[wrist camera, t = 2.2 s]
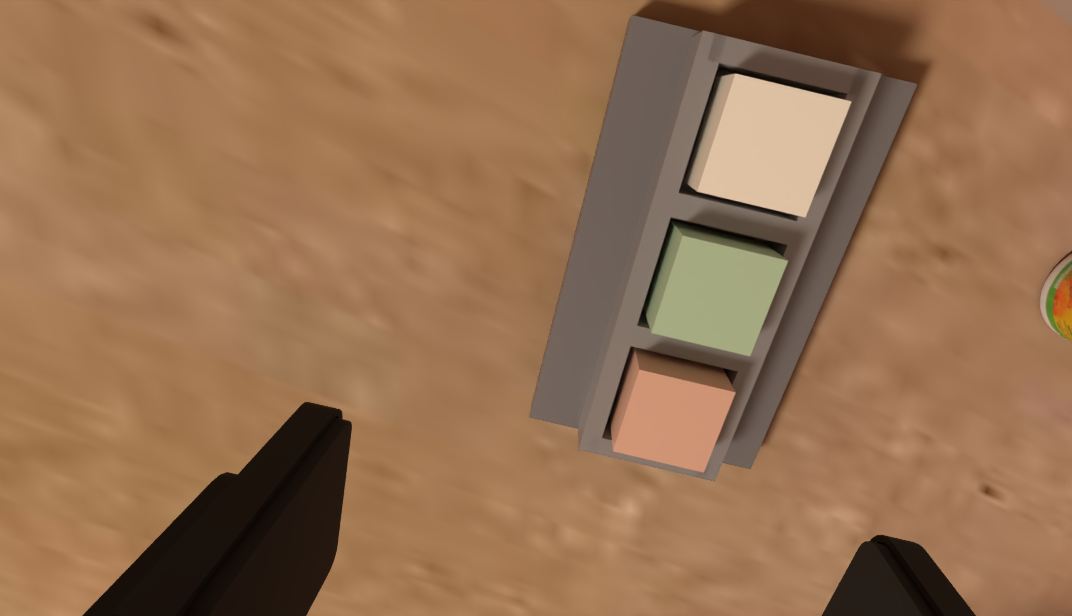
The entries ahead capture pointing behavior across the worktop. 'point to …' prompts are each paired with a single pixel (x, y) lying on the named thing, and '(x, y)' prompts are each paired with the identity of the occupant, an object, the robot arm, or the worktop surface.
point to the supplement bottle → (1058, 299)
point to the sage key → (713, 288)
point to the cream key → (765, 143)
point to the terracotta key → (669, 409)
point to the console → (662, 196)
